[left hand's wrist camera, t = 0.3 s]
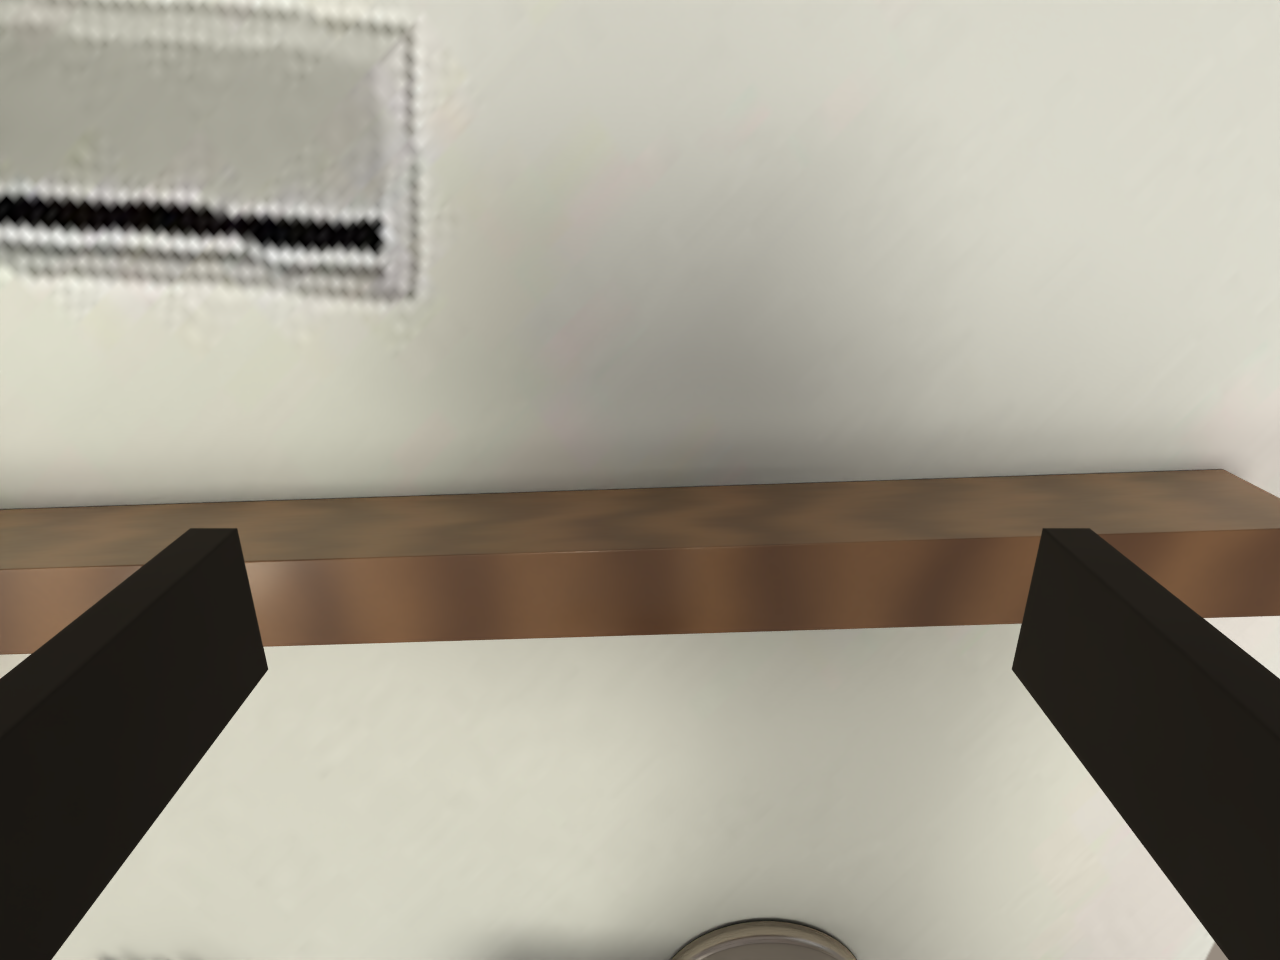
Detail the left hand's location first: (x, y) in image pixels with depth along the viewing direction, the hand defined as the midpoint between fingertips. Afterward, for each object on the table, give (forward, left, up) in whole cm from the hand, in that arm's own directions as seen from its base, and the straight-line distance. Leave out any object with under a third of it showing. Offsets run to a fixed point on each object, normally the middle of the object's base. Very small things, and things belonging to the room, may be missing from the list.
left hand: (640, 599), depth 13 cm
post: (-12, +7, -27) cm, 31 cm away
